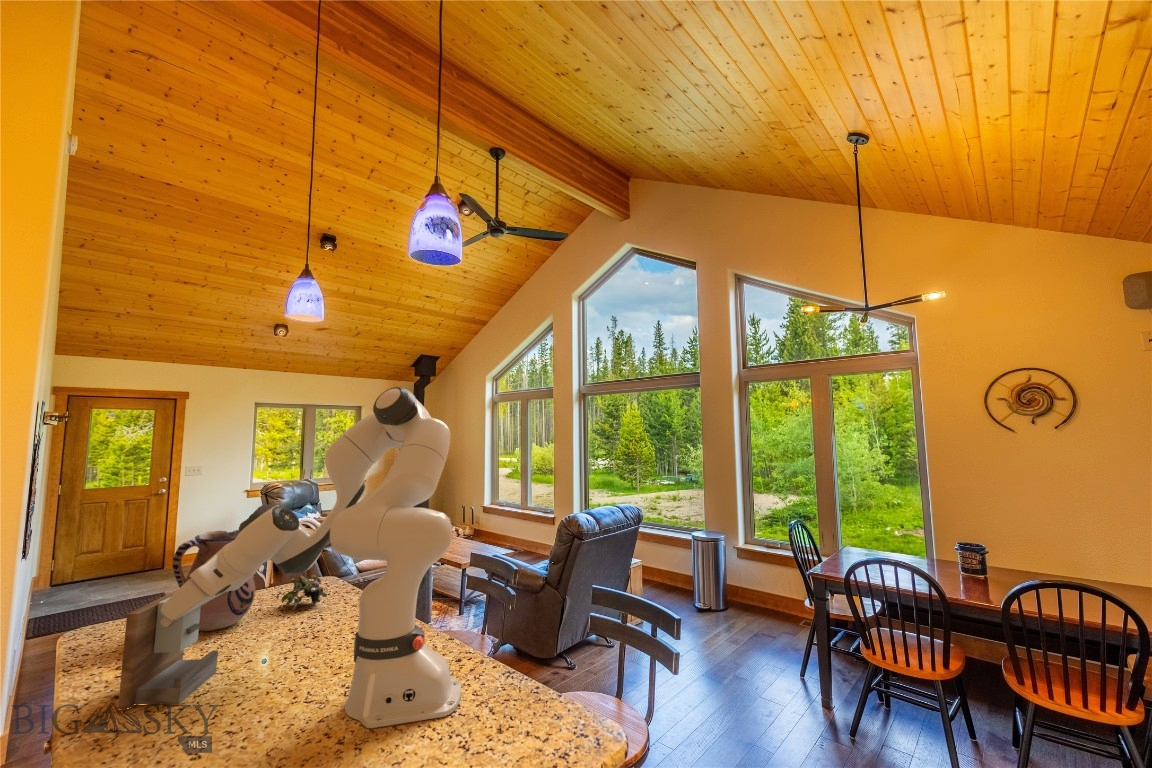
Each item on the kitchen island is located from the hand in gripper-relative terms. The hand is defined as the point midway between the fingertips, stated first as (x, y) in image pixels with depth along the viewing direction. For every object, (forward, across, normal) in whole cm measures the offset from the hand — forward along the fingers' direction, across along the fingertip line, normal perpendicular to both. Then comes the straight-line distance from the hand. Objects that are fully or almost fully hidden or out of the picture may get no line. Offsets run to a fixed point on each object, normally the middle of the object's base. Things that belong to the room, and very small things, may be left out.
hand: (176, 617), depth 108 cm
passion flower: (+5, -49, +16) cm, 52 cm away
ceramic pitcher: (+18, -34, +3) cm, 38 cm away
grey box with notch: (+4, 0, +5) cm, 6 cm away
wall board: (+10, 0, +11) cm, 14 cm away
